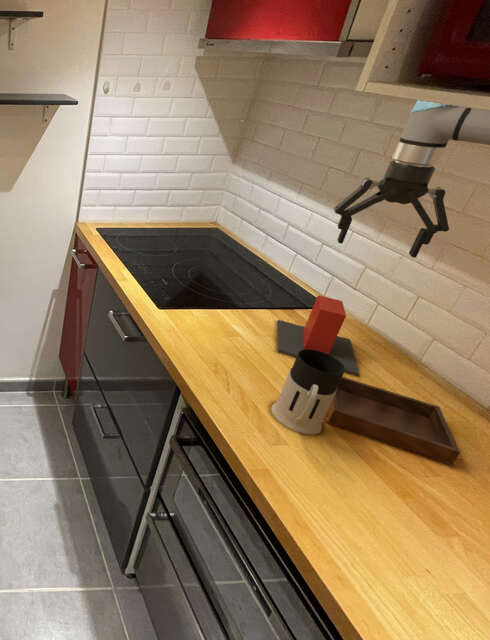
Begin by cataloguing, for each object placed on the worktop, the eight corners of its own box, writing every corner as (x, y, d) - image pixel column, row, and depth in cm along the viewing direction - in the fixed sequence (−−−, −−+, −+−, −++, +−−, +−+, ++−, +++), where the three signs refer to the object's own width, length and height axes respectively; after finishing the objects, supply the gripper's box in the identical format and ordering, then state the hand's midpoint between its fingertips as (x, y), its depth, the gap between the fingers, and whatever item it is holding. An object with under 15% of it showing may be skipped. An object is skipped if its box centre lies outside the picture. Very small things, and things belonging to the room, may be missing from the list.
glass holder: (322, 415, 94) (349, 359, 88) (318, 459, 84) (348, 399, 78) (274, 396, 99) (296, 341, 93) (264, 435, 89) (288, 377, 83)
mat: (348, 341, 118) (350, 339, 118) (357, 376, 106) (358, 373, 106) (277, 321, 126) (278, 319, 126) (277, 351, 114) (278, 349, 113)
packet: (325, 339, 117) (342, 300, 113) (328, 355, 111) (346, 315, 106) (302, 333, 120) (317, 295, 115) (303, 348, 114) (320, 309, 109)
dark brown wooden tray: (431, 419, 94) (439, 406, 93) (451, 466, 84) (460, 452, 82) (322, 384, 103) (328, 372, 102) (327, 422, 93) (334, 409, 91)
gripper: (486, 168, 96) (440, 255, 105) (341, 152, 109) (311, 231, 118) (499, 176, 91) (450, 267, 99) (344, 158, 103) (313, 241, 112)
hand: (374, 248), depth 109 cm, fingers open, 13 cm apart
